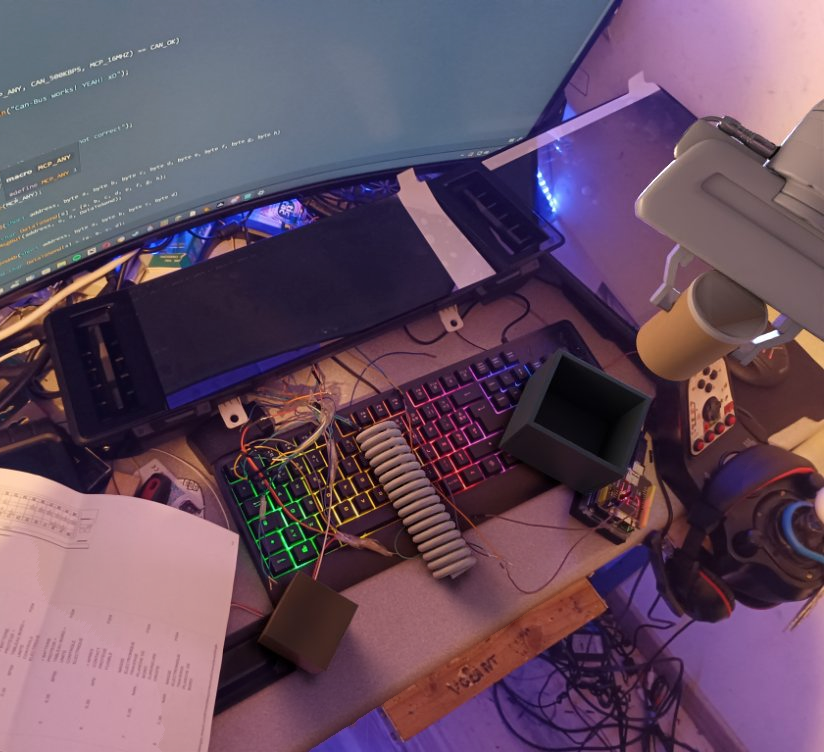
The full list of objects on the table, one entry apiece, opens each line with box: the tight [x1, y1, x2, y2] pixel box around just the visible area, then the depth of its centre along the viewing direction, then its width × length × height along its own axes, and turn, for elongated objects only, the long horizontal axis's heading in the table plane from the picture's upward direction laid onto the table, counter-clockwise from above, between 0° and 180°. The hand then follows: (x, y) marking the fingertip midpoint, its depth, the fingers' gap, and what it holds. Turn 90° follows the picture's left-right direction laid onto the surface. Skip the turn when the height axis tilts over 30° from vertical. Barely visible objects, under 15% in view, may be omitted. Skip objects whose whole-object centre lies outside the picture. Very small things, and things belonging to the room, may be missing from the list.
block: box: [257, 570, 360, 674], centre depth 66 cm, size 6×6×11 cm
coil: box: [355, 420, 477, 580], centre depth 76 cm, size 5×5×18 cm
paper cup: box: [636, 269, 769, 382], centre depth 57 cm, size 6×6×8 cm
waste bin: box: [498, 348, 653, 497], centre depth 79 cm, size 11×10×9 cm
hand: (696, 333), depth 57 cm, fingers closed on paper cup, 6 cm apart
